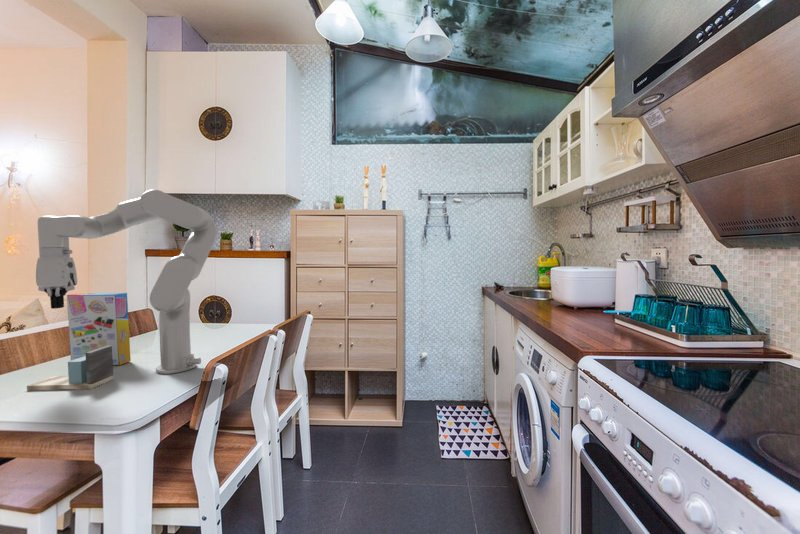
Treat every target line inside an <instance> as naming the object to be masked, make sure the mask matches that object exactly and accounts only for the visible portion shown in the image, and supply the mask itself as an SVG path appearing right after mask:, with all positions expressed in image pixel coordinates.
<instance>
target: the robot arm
mask: <svg viewBox="0 0 800 534" xmlns="http://www.w3.org/2000/svg"><path fill="white" fill-rule="evenodd" d="M158 219H162V220H164V221H167V222H169V223H172V224H174V225H176V226H179V227H181V228H185V229H187V230H190V235H189V236H188V238H187V240H186V241H185V243H184V246H183V247H182V249H181V251H180V253H179V255H176V256H173V257H171V258H170V259H168V261H167V262H166V263H165V264H164V266H163V268H162V269H161V271H160V274H159V275H158V277H157V280H156V281H155V283H154V286H153V287H152V288H151V292H150V294H149V303H150V306H152V308H153V309H154V310H156V311H157V312H159V315H158V324H159V325H158V328H159V329H158V330H159V331H158V332H159V348H160V349H159V351H160V353H159V354H160V355H159V356H160V365H159V366H157V367H156V368H155V372H156V373H157V374H162V375H165V374H166V375H167V374H169V375H170V374H176V373H183V372H187V371H189V370H192V369H194V368H196V366H197V365H201V363H202V357H195V356H194V355H195V353H192V351H191V349H192V348H191V328H190V327H191V321H190V317H191V316H190V315H191V314H190V309H191V293H190V290H189V287H190V284H191V282H192V281H194V280H195V279H197V278H198V277H199V275H200V274H201V272H202V270H203V267H204V265H205V263H206V261H207V260H208V257H209V255H210V253H211V251H212V249H213V246H214V243H215V241H216V238H217V226H216V223H215V221H214V219H213V218H212V216H211V215H210V214H209V213H208V212H207V211H206V210H204V209H203V208H201V207H199V206H196V205H195V204H192V203H189V202H187V201H184V200H183V199H180V198H177V197H175V196H173V195H171V194H168V193H166V192H164V191H162V190H159V189H149V190H146V191H145V192H143V193H142V194H141V196H140V197H138V198H134V199H133V198H132V199H129V200H126V201H123V202H120V203H118V204H117V205H116V207H115V208H114V209H113V210H112V211H109V212H107V213H102V214H99V215H95V216H91V217H90V216H89V217H88V216H84V215H83V216H82V215H65V216H56V215H42V216H40V217H38V218H37V234H38V235H37V236H38V253H39V254H38V255H39V256H38V257H37V259H36V260H37V261H36V267H35V282H36V283H35V284H36V286H37V287H38V288H37V289H38V290H37V291H40V292H44V293H46V294H47V296H48V297H49V298H50V299H49V300H50V308H51V309H54V310H55V309H62V308H64V307H65V299H64V297H65V296H67V293H68V292H69V291H74V290H75V286H76V285H78V275H77V269H76V268H77V267H76V264H75V261H74V258H73V257H70V255H72V254H73V250H72V249H70V238H75V239H87V240H91V239H92V240H94V239H97V238H102V237H105V236H108V235H112V234H115V233H119V232H121V231H123V230H127V229H128V228H131V227H134V226H139V225H140V224H145V223H147V222H148V223H149V222H152V221H156V220H158Z"/></svg>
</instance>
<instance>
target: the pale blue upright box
mask: <svg viewBox="0 0 800 534" xmlns="http://www.w3.org/2000/svg"><path fill="white" fill-rule="evenodd" d="M67 371H68V374H67V376H68V377H69V384H82V383H84V382H87V373H86V356H84V357H81V358H78V359H75V360H72V361H71V360H70V361H67Z"/></svg>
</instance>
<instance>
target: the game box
mask: <svg viewBox="0 0 800 534" xmlns="http://www.w3.org/2000/svg"><path fill="white" fill-rule="evenodd" d="M66 302H67V303H66V304H67V316H68V318H67V319H68V334H69V335H68V336H69V350H70V361H72V360H75V359H78V358H81V357H84V356H86V353H87V352H90V351H93V350H96V349H99V348H102V347H105V346H112V358H113V366H121V365H124V364H127V363H129V362H131V361H132V360H131V342H130V325H129V323H130V321H129V308H128V307H129V306H128V305H129V304H128V303H129V302H128V292H112V293H111V292H106V293H105V292H104V293H103V292H101V293H99V292H95V293H74V294H73V293H72V294H66Z"/></svg>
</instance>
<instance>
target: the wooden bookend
mask: <svg viewBox="0 0 800 534" xmlns="http://www.w3.org/2000/svg"><path fill="white" fill-rule="evenodd" d="M86 373H87V382H84V383H82V384H69V377H68V375H53V376H50V377H47V378H45V379H42V380H38V381H36V382H33V383H31V384H28V385H26V391H27V390H28V391H61V390H60V389H75V390H93V388H94V389H95V387H96V388H98V387H100V386H102V385H104V384H107V383H109V382H111V381H113V380H114V365H113V358H112V346H105V347H102V348H99V349H96V350H93V351H90V352H87V353H86ZM112 379H113V380H112ZM110 380H111V381H110ZM108 381H109V382H108ZM106 382H107V383H106ZM103 383H104V384H103ZM101 384H102V385H101ZM99 385H100V386H99ZM97 386H98V387H97Z"/></svg>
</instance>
